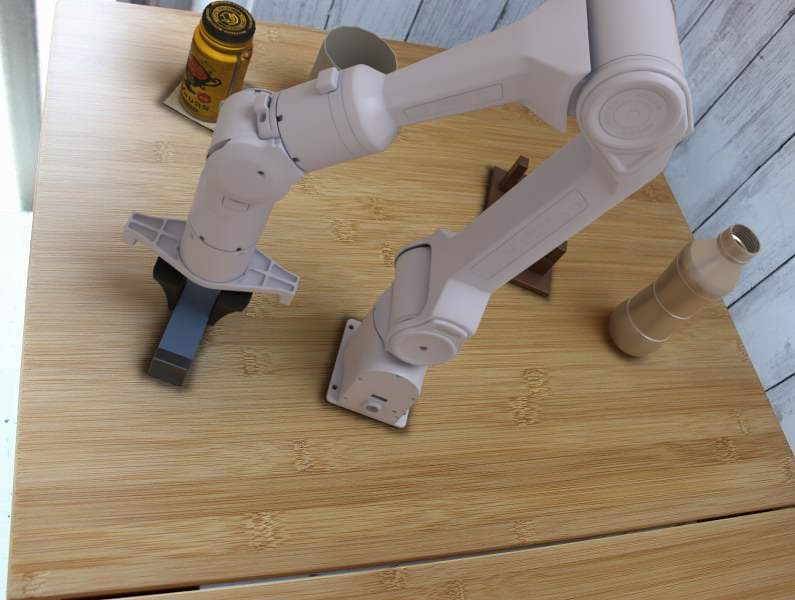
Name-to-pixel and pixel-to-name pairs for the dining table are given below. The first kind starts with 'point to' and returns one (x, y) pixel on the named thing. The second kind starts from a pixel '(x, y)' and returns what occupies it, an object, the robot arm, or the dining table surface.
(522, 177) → the holder
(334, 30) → the cup
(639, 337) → the plastic bottle
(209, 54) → the condiment
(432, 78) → the robot arm
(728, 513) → the dining table surface
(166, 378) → the handle
